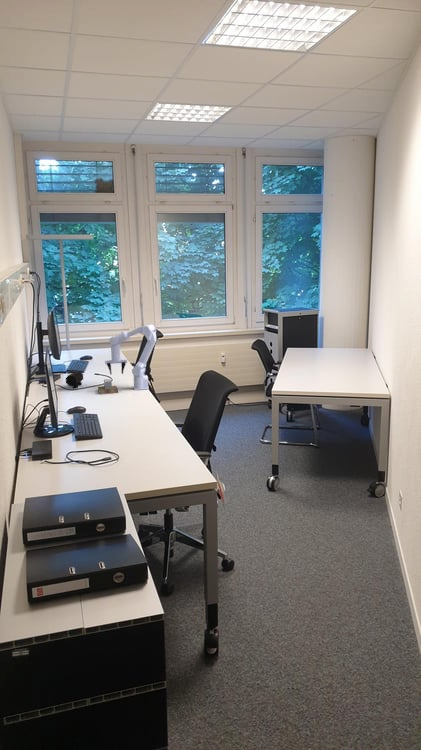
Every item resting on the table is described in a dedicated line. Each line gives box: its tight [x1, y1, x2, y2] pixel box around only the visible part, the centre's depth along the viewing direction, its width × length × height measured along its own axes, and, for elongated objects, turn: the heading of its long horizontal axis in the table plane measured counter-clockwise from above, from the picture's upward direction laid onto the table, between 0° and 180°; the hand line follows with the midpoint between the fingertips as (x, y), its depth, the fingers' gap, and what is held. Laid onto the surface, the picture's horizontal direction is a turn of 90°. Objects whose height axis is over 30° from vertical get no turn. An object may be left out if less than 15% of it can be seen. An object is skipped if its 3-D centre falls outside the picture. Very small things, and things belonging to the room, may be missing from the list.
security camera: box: [65, 370, 84, 390], centre depth 370 cm, size 7×18×10 cm, turn 174°
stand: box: [97, 385, 119, 395], centre depth 358 cm, size 12×12×2 cm
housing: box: [103, 378, 113, 389], centre depth 357 cm, size 8×4×5 cm, turn 14°
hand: (116, 373), depth 368 cm, fingers open, 7 cm apart
